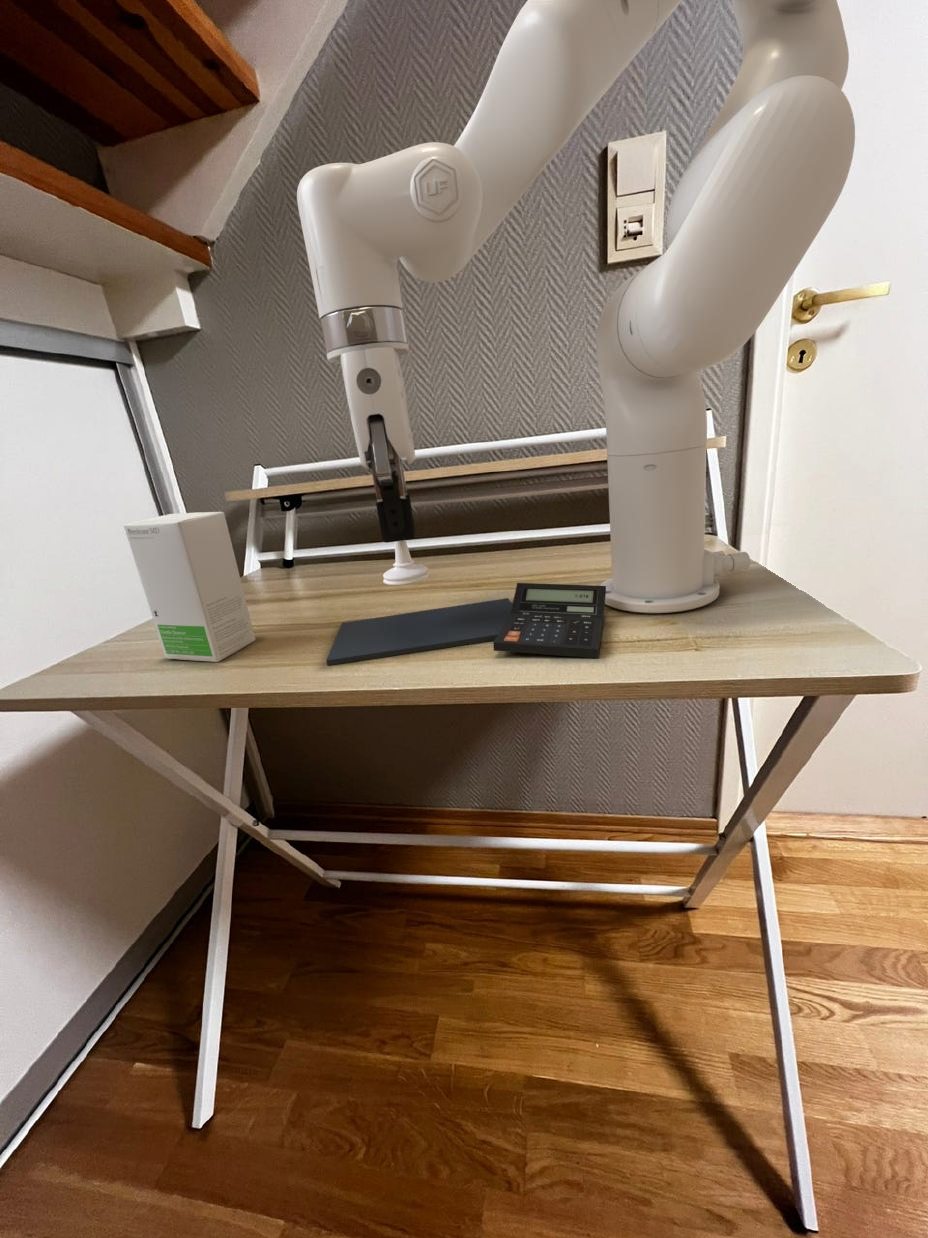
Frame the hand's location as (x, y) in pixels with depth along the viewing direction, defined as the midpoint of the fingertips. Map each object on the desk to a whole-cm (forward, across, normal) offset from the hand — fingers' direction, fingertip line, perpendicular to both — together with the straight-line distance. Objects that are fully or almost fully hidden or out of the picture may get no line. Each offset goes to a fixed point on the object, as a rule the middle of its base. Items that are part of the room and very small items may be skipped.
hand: (399, 536), depth 55 cm
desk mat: (+11, 0, -1) cm, 11 cm away
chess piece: (+5, 0, 0) cm, 5 cm away
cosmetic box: (+11, +4, +24) cm, 27 cm away
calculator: (+11, -6, -14) cm, 18 cm away
